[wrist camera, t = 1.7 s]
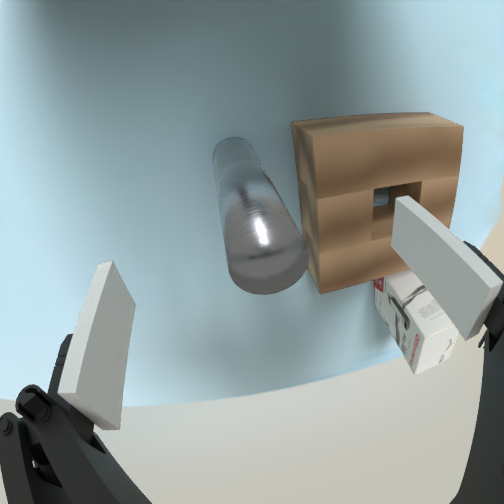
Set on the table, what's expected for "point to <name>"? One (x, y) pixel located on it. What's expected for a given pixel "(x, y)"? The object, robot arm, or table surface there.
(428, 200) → the socket block
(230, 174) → the peg
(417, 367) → the ink box
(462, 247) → the robot arm
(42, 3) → the table surface
